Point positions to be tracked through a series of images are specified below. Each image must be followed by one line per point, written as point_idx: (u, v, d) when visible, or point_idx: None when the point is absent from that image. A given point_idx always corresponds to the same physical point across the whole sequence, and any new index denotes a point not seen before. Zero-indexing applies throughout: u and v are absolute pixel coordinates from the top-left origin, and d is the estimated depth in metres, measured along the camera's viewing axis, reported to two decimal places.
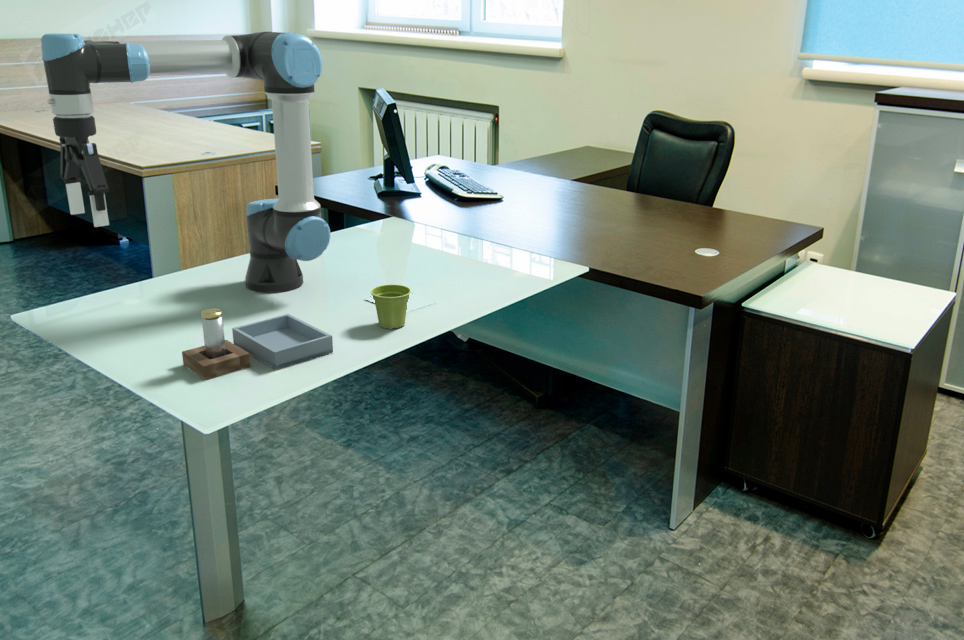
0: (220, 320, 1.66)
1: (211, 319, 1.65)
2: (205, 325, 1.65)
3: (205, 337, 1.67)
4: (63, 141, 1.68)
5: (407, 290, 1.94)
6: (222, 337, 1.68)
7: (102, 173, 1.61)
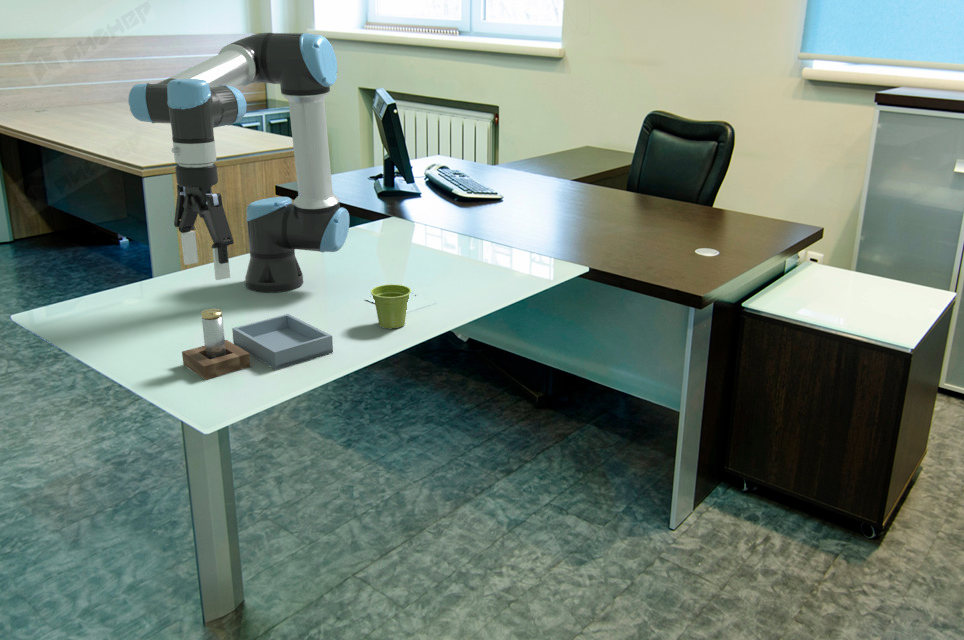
0: (220, 320, 1.66)
1: (211, 319, 1.65)
2: (205, 325, 1.65)
3: (205, 337, 1.67)
4: (181, 189, 1.61)
5: (407, 290, 1.94)
6: (222, 337, 1.68)
7: (227, 225, 1.54)
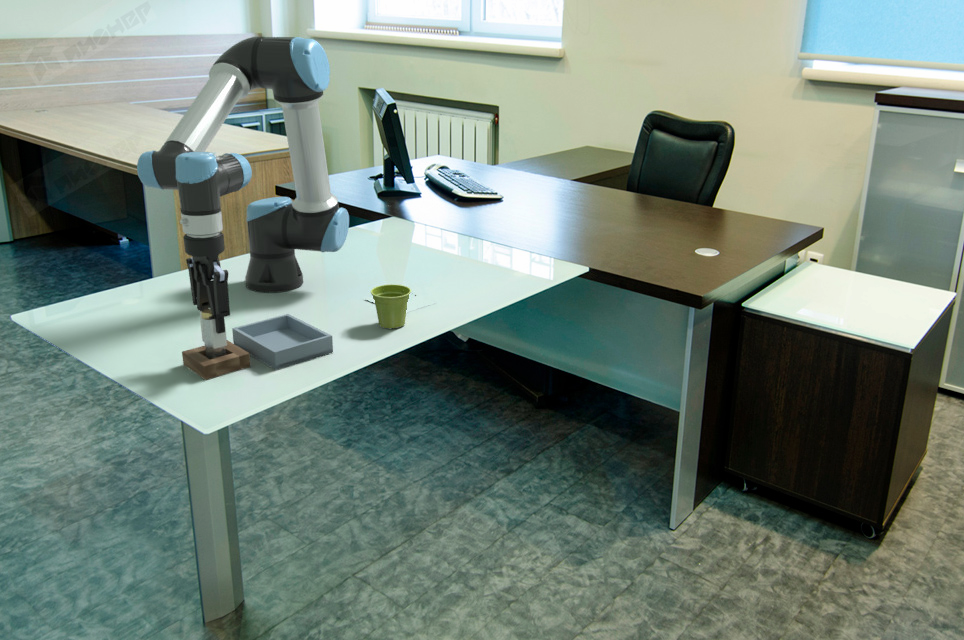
0: None
1: None
2: (205, 325, 1.65)
3: (205, 337, 1.67)
4: (190, 262, 1.66)
5: (407, 290, 1.94)
6: None
7: (227, 299, 1.62)
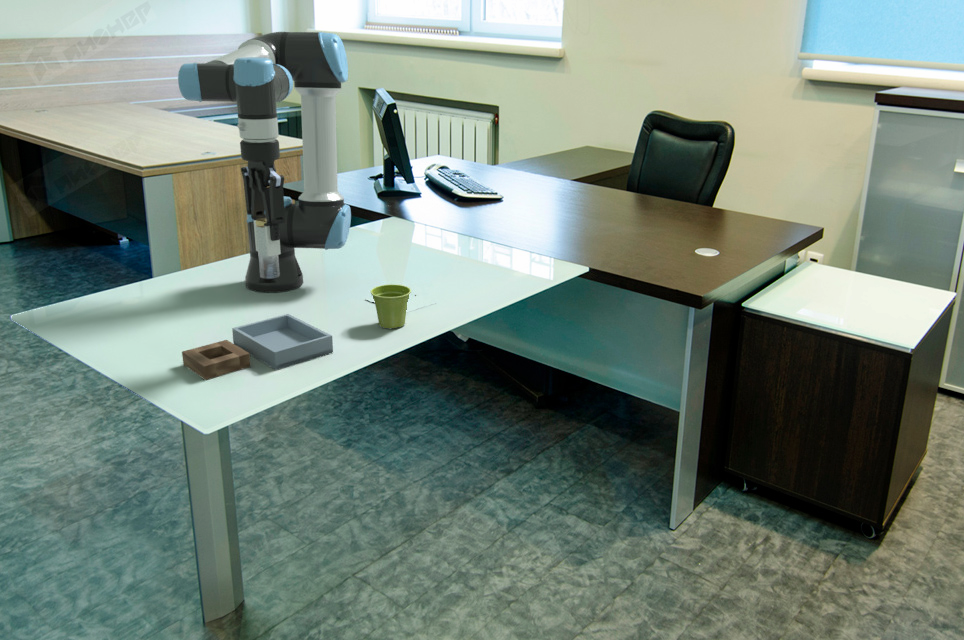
0: None
1: None
2: (260, 233, 1.67)
3: (259, 245, 1.69)
4: (245, 170, 1.68)
5: (407, 290, 1.94)
6: None
7: (283, 205, 1.64)
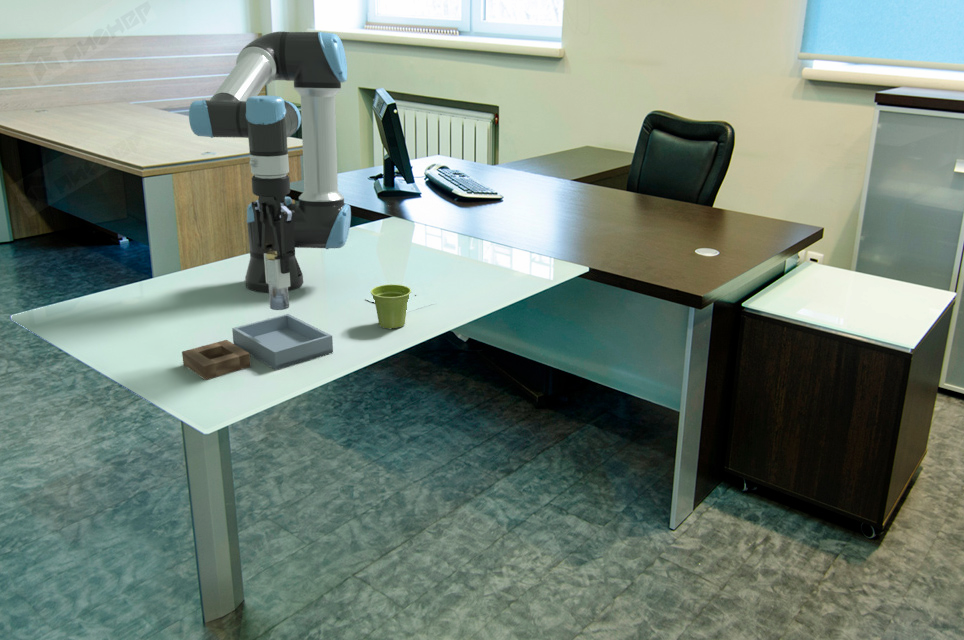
0: None
1: None
2: (270, 266, 1.71)
3: (269, 278, 1.72)
4: (255, 205, 1.71)
5: (407, 290, 1.94)
6: None
7: (293, 239, 1.67)
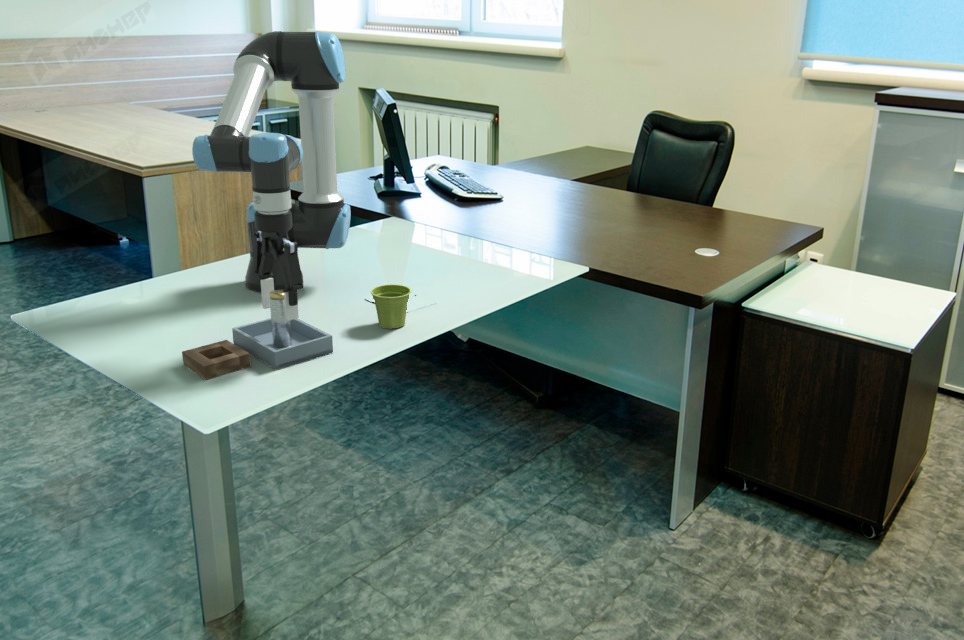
0: None
1: (279, 299, 1.74)
2: (273, 305, 1.74)
3: (272, 317, 1.75)
4: (257, 235, 1.74)
5: (407, 290, 1.94)
6: None
7: (299, 271, 1.68)
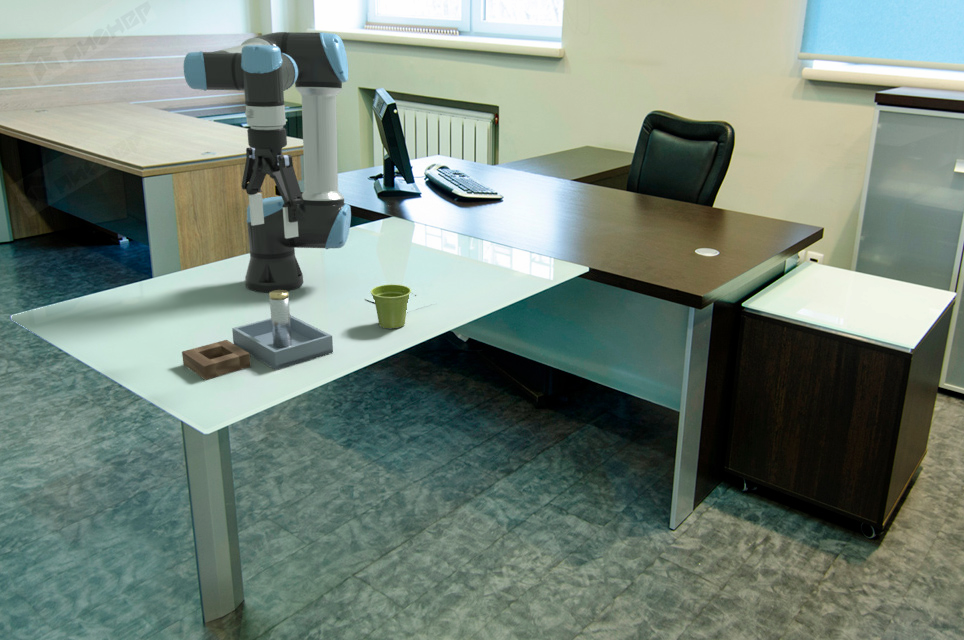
0: (287, 300, 1.75)
1: (279, 299, 1.73)
2: (273, 305, 1.74)
3: (273, 317, 1.75)
4: (250, 152, 1.68)
5: (407, 290, 1.94)
6: (288, 317, 1.76)
7: (297, 185, 1.61)
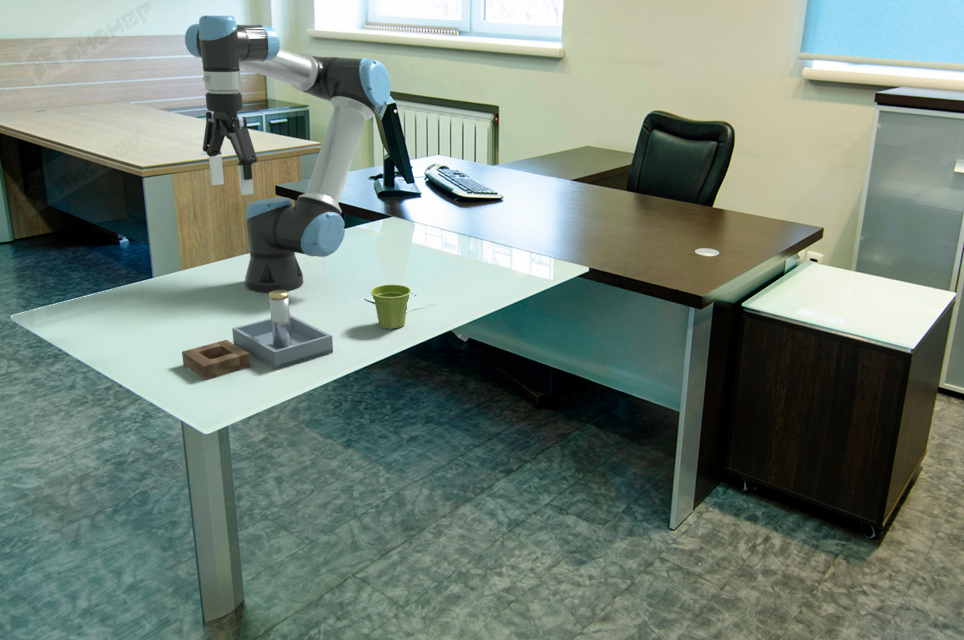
0: (287, 301, 1.75)
1: (279, 299, 1.73)
2: (273, 305, 1.74)
3: (272, 317, 1.75)
4: (209, 116, 1.81)
5: (407, 290, 1.94)
6: (288, 317, 1.76)
7: (251, 145, 1.75)
